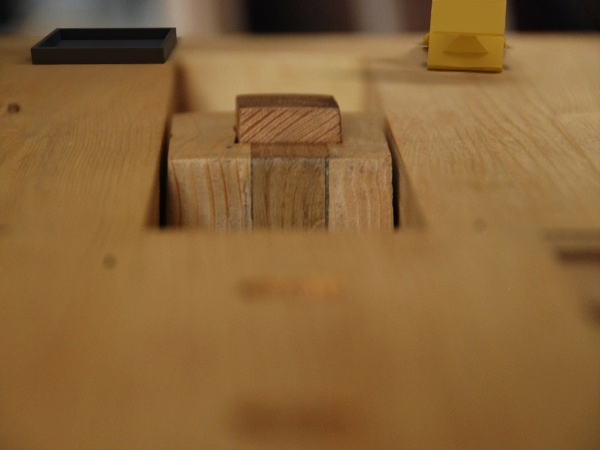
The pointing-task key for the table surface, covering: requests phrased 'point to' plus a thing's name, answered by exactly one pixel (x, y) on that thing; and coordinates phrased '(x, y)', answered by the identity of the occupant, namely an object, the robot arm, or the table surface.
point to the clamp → (466, 35)
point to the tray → (105, 46)
